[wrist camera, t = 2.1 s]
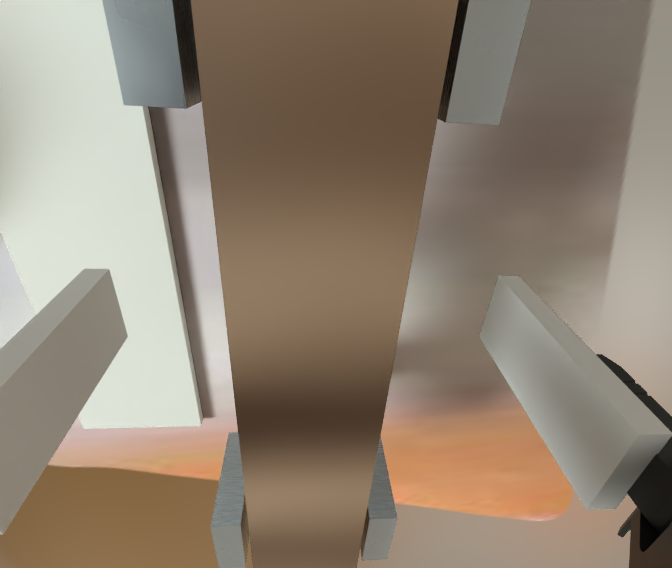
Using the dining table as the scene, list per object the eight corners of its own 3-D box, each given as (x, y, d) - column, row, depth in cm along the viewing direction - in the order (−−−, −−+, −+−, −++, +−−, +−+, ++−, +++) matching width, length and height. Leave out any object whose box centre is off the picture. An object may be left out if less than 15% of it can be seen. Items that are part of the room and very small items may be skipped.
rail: (211, -384, 6) (76, -1032, 2) (437, -344, 6) (612, -857, 3) (268, 530, 19) (260, 634, 16) (337, 527, 19) (345, 628, 16)
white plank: (-169, -211, 11) (-193, -225, 10) (97, -180, 11) (87, -191, 11) (88, 420, 24) (83, 428, 23) (203, 418, 25) (201, 425, 24)
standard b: (214, -80, 13) (27, -364, 4) (407, -61, 13) (601, -272, 5) (229, 117, 16) (142, 193, 7) (385, 125, 16) (478, 204, 8)
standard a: (245, 318, 21) (205, 502, 12) (363, 318, 21) (403, 493, 13) (251, 396, 24) (222, 586, 15) (354, 394, 24) (382, 576, 16)
